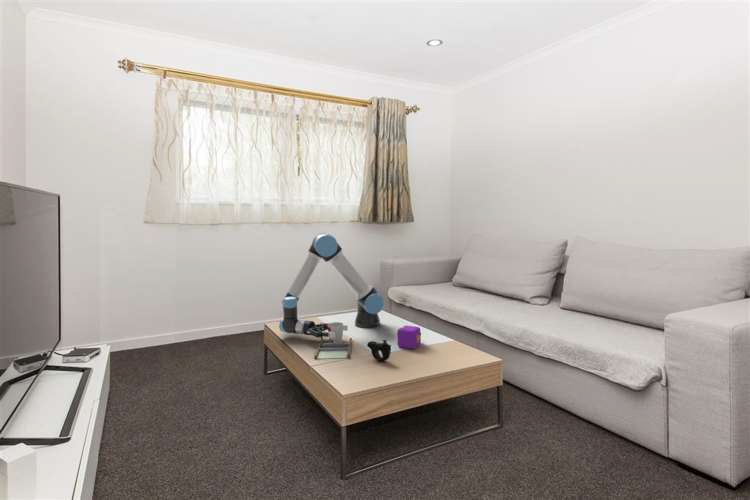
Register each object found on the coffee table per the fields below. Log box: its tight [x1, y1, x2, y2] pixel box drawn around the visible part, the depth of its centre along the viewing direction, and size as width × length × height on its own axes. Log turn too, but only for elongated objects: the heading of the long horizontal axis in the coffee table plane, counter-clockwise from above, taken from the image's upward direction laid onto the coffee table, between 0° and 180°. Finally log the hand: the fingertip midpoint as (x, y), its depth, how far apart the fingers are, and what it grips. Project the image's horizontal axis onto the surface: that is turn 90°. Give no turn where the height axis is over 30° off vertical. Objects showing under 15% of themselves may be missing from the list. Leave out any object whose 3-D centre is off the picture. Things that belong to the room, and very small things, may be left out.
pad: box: [316, 351, 348, 360], centre depth 198 cm, size 14×10×1 cm
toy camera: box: [396, 325, 422, 350], centre depth 210 cm, size 11×14×10 cm
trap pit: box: [320, 342, 349, 351], centre depth 207 cm, size 14×8×2 cm, turn 90°
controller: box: [366, 339, 392, 363], centre depth 189 cm, size 4×12×10 cm, turn 49°
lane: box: [313, 337, 353, 360], centre depth 206 cm, size 16×27×2 cm, turn 0°
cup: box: [327, 321, 344, 343], centre depth 216 cm, size 8×8×10 cm
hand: (341, 331), depth 214 cm, fingers open, 13 cm apart
